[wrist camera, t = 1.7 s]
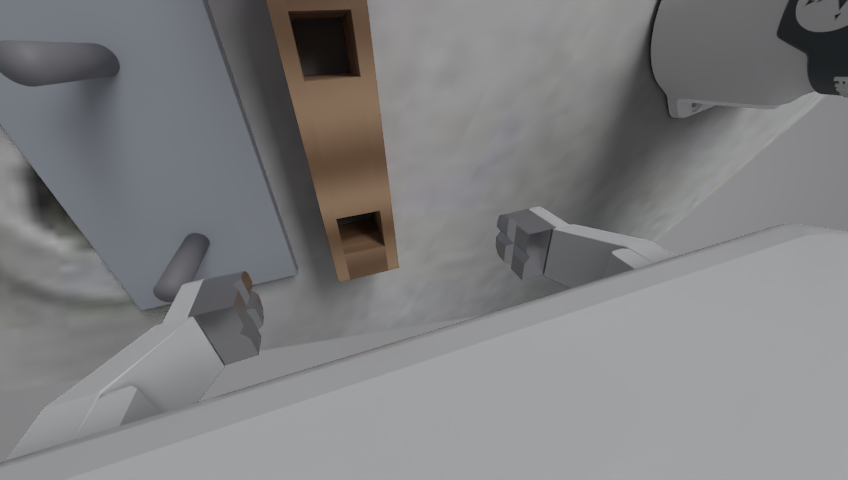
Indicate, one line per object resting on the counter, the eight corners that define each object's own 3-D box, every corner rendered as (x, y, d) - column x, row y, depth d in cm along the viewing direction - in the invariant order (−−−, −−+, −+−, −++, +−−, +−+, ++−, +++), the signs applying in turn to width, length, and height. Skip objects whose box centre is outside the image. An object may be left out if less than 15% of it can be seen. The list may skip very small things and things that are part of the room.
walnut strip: (263, -30, 18) (252, -53, 14) (348, -31, 19) (360, -52, 15) (333, 249, 29) (339, 282, 25) (385, 238, 30) (399, 267, 26)
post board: (188, -54, 17) (127, -110, 11) (297, 267, 29) (296, 322, 23) (-114, -60, 14) (-412, -138, 8) (147, 300, 26) (101, 373, 20)
